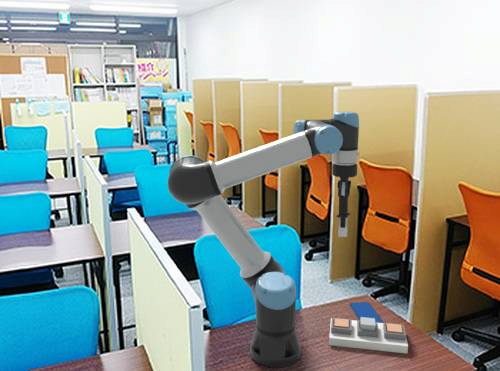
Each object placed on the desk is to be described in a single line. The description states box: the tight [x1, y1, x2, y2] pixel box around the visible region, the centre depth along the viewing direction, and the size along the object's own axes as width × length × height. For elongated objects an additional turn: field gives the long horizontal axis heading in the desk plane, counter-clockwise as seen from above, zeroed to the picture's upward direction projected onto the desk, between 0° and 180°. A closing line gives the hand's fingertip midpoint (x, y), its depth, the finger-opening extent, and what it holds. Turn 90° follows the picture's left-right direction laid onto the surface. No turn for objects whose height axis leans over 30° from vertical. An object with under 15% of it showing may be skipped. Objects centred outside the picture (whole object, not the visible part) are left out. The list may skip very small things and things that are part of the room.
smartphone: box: [349, 301, 384, 323], centre depth 161 cm, size 7×1×15 cm
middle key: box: [360, 317, 376, 331], centre depth 145 cm, size 4×4×2 cm
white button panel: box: [328, 317, 409, 354], centre depth 146 cm, size 23×12×4 cm, turn 78°
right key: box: [386, 322, 403, 334], centre depth 144 cm, size 4×4×2 cm
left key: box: [334, 317, 349, 328], centre depth 147 cm, size 4×4×2 cm
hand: (342, 236), depth 148 cm, fingers closed
